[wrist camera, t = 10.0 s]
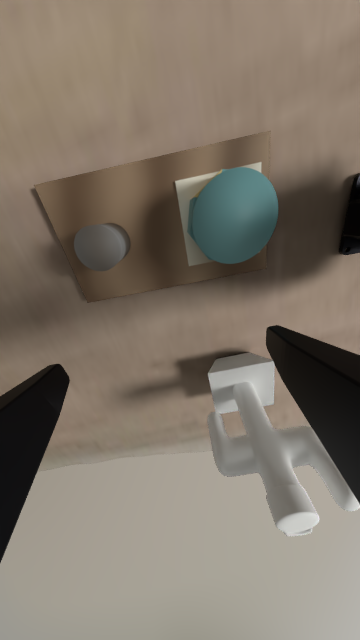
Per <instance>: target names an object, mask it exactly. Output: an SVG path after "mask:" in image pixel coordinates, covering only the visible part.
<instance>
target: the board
mask: <svg viewBox="0 0 360 640" xmlns="http://www.w3.org/2000/svg"><path fill="white" fill-rule="evenodd" d="M270 134H271V131H267V132H263V133H258V134H254V135H250V136H245V137H241V138H237V139H232V140H228V141H224V142H219V143H215V144H210V145H206V146H202V147H197V148H193V149H189V150H184V151H180V152H176V153H171V154H167V155H163V156H158V157H154V158H150V159H145V160H141V161H137V162H132V163H128V164H124V165H119V166H115V167H111V168H106V169H102V170H98V171H93V172H89V173H85V174H80V175H76V176H72V177H67V178H63V179H59V180H54V181H50V182H46V183H41V184H37V185H34V186H35V188H36V191H37V193H38V195H39V197H40V199H41V202H42V204H43V206H44V208H45V210H46V212H47V215H48V217H49V219H50V221H51V223H52V226H53V228H54V230H55V232H56V234H57V236H58V239H59V241H60V243H61V245H62V247H63V250H64V252H65V254H66V256H67V258H68V261H69V263H70V265H71V267H72V269H73V271H74V274H75V276H76V278H77V280H78V282H79V285H80V287H81V289H82V291H83V293H84V296H85V298H86V300H87V302H88V303H89V302H95V301H100V300H105V299H110V298H115V297H121V296H126V295H131V294H136V293H141V292H147V291H152V290H157V289H162V288H168V287H173V286H178V285H183V284H188V283H194V282H199V281H204V280H209V279H214V278H220V277H225V276H230V275H235V274H241V273H246V272H251V271H256V270H261V269H266V256H267V244H266V245H265V246H264V247H263V248H262V250H261V251H259V252H258V253H257V254H256V255H254V256H253V257H251V258H250V259H248V260H246V261H243V262H240V263H235V264H225V263H220V262H217V261H215V260H209V259H208V258H207V257H206V256H205V254H204V253H203V252H202V251H201V249H200V248H199V247H198V245H197V244H196V243H195V241H194V240H193V239H192V238H191V236H190V235H189V234H188V232H187V228H188V216H189V205H190V200H191V199H192V198H193V197H194V196H195V195H196V194H197V193H198V192H199V191H200V190H201V189H202V188H203V187H204V186H205V185H206V184H207V183H208V182H209V181H210V180H211V179H212V178H213V177H214V176H215V175H216V174H217V173H218V172H219V171H221V170H222V169H232V168H237V167H246V168H252V169H254V170H257V171H258V172H260V173H262V174H263V175H264V176H265V177H267V179H268V180H269V165H270Z"/></svg>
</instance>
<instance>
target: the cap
mask: <svg viewBox="0 0 360 640" xmlns="http://www.w3.org/2000/svg"><path fill="white" fill-rule="evenodd" d="M277 218H278V199H277V195H276V192H275V190H274V187H273V186H272V184H271V182H270V181H269V180H268V179H267V177H265V176H264V175H263V174H262V173H260V172H258V171H257V170H254V169H252V168H246V167H237V168H232V169H222V170H221V171H219V172H218V173H217V174H216V175H215V176H214V177H213V178H212V179H211V180H210V181H209V182H208V183H207V184H206V185H205V186H204V187H203V188H202V189H201V190H200V191H199V192H198V193H197V194H196V195H195V196H194V197H193V198H192V199H191V200H190V205H189V216H188V228H187V232H188V234H189V235H190V236H191V238H192V239H193V240H194V241H195V243H196V244H197V245H198V247H199V248H200V249H201V251H202V252H203V253H204V254H205V256H206V257H207V258H208V259H209V260H215V261H217V262H220V263H225V264H235V263H240V262H243V261H246V260H248V259H250V258H251V257H253V256H254V255H256V254H257V253H258V252H259V251H261V250H262V248H263V247H264V246H265V245H266V244H267V242H268V241H269V239H270V238H271V236H272V234H273V232H274V229H275V226H276V223H277Z"/></svg>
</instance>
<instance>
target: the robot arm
mask: <svg viewBox="0 0 360 640" xmlns="http://www.w3.org/2000/svg"><path fill="white" fill-rule="evenodd" d="M346 248H347V250H346V251H345V249H346ZM339 253H340V254H342V255H349V254H355V253H360V173H359V174H358V175H357V176H356V177H355V178H354V181H353V185H352V190H351V195H350V200H349V205H348V209H347V214H346V219H345V224H344V229H343V233H342V238H341V243H340V248H339ZM266 346H267V349H268V351H269V353H270V356H271V358H272V360H273V362H274V364H275V366H276V368H277V370H278V372H279V374H280V376H281V378H282V380H283V382H284V384H285V385H286V387H287V389H288V390H289V392H290V393H291V395H292V397H293V398H294V400H295V401H296V403H297V405H298V406H299V408H300V409H301V411H302V413H303V414H304V416H305V417H306V419H307V421H308V422H309V424H310V425H311V427H312V429H313V430H314V432H315V433H316V435H317V437H318V438H319V440H320V441H321V443H322V445H323V446H324V448H325V449H326V451H327V453H328V454H329V456H330V457H331V459H332V461H333V462H334V464H335V465H336V467H337V469H338V470H339V472H340V473H341V475H342V477H343V478H344V480H345V481H346V483H347V485H348V486H349V488H350V489H351V491H352V493H353V494H354V496H355V497H356V499H357V501H358V502H359V504H360V355H357V354H355V353H352V352H349V351H346V350H344V349H341V348H338V347H336V346H333V345H330V344H327V343H325V342H322V341H319V340H317V339H314V338H311V337H308V336H306V335H303V334H300V333H298V332H295V331H292V330H289V329H287V328H284V327H281V326H279V325H275V326H270V327H268V328H267V331H266ZM69 381H70V380H69V376H68V375H67V373H66V371H65V370H64V368H63V367H62V365H60V364H53V365H49V366H47V367H46V368H44V369H42V370H41V371H39V372H38V373H36V374H35V375H33V376H32V377H30V378H28V379H27V380H25V381H24V382H22V383H21V384H19V385H17V386H16V387H14V388H13V389H11V390H10V391H8V392H7V393H5V394H3V395H2V396H0V562H1V560H2V558H3V555H4V553H5V550H6V548H7V545H8V543H9V540H10V538H11V535H12V533H13V530H14V528H15V525H16V523H17V520H18V518H19V515H20V513H21V510H22V508H23V505H24V503H25V500H26V498H27V495H28V493H29V490H30V488H31V485H32V483H33V480H34V478H35V475H36V473H37V471H38V468H39V466H40V463H41V461H42V458H43V456H44V453H45V451H46V448H47V446H48V443H49V441H50V438H51V436H52V433H53V431H54V428H55V426H56V423H57V421H58V418H59V415H60V412H61V409H62V406H63V402H64V399H65V395H66V392H67V389H68V385H69Z"/></svg>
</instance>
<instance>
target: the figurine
mask: <svg viewBox="0 0 360 640" xmlns="http://www.w3.org/2000/svg"><path fill="white" fill-rule="evenodd" d="M208 378H209V382H210V387H211V392H212V396H213V401H214V406H215V410H216V412H211V413H210V414H209V415H208V419H207V421H208V428H209V434H210V440H211V445H212V451H213V456H214V459H215V463H216V466H217V468H218V470H219V472H220V473H221V474H223V475H224V476H227V477H232V476H240V475H246V474H253V473H259V474H260V475H261V477H262V480H263V482H264V485H265V489H266V492H267V495H266V499H267V502H268V505H269V508H270V510H271V513H272V516H273V519H274V522H275V525H276V527H277V528H278V529H279V530H281V531H283V532H284V534H285V535H286V536H300V535H305V534H309V533H312V527H314V526H315V525H316V524H317V523H318V522H319V516H318V513H317V512H316V510H315V508H314V506H313V504H312V502H311V500H310V498H309V496H308V494H307V492H306V490H305V489H304V488H303V487H302V486H301V485H300V483H299V481H298V479H297V477H296V475H295V473H294V471H293V468H294V467H298V466H305V465H310V466H312V467H313V468H314V469H315V470H316V471H317V473H318V474H319V475H320V477H321V478H322V480H323V481H324V483H325V485H326V487H327V488H328V490H329V492H330V493H331V495H332V496H333V498H334V500H335V501H336V503H337V504H338V505H339V506H340V507H341V508H342V509H344V510H347V511H355V510H357V509H359V508H360V504H359V502H358V501H357V499H356V497H355V496H354V494H353V493H352V491H351V489H350V488H349V486H348V485H347V483H346V481H345V480H344V478H343V477H342V475H341V473H340V472H339V470H338V469H337V467H336V465H335V464H334V462H333V461H332V459H331V457H330V456H329V454H328V453H327V451H326V449H325V448H324V446H323V445H322V443H321V441H320V440H319V438H318V437H317V435H316V433H315V432H314V430H313V429H312V428H311V427H308V426H298V427H292V428H286V429H276V428H274V427H273V426H272V425H271V422H270V420H269V418H268V416H267V414H266V412H265V410H264V408H263V406H267V405H273V404H274V362H273V360H271V359H268V358H265V357H262V356H259V355H256V354H253V353H250V352H249V353H244V354H239V355H234V356H229V357H224V358H219V359H216V360H215V361H214V363H213V365H212V367H211V369H210V371H209V372H208ZM234 411H239V413H240V416H241V419H242V422H243V424H244V427H245V430H246V433H247V435H244V436H238V437H229V436H228V435H227V433H226V430H225V426H224V422H223V419H222V417H221V415H220V414H223V413H228V412H234Z"/></svg>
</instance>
